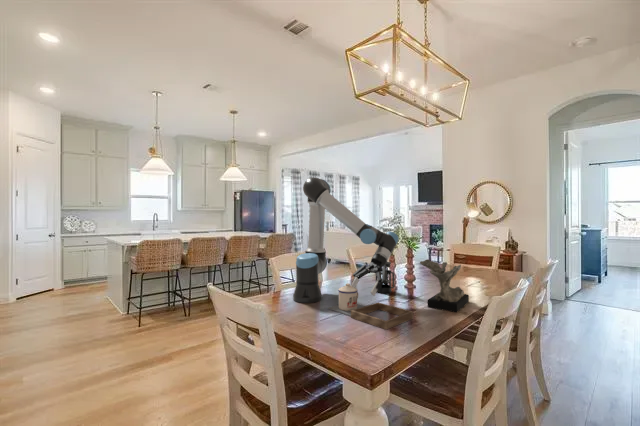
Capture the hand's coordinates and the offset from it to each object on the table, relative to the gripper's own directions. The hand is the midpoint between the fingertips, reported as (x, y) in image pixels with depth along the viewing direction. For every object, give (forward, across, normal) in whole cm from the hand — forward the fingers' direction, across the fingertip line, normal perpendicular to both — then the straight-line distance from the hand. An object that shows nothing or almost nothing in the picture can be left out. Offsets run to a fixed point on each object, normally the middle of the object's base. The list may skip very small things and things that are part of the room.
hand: (361, 291), depth 158 cm
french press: (-16, +10, -27) cm, 33 cm away
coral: (-17, -24, -28) cm, 41 cm away
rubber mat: (+10, 0, 0) cm, 10 cm away
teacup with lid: (+10, +1, +1) cm, 10 cm away
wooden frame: (+10, -18, 0) cm, 20 cm away
